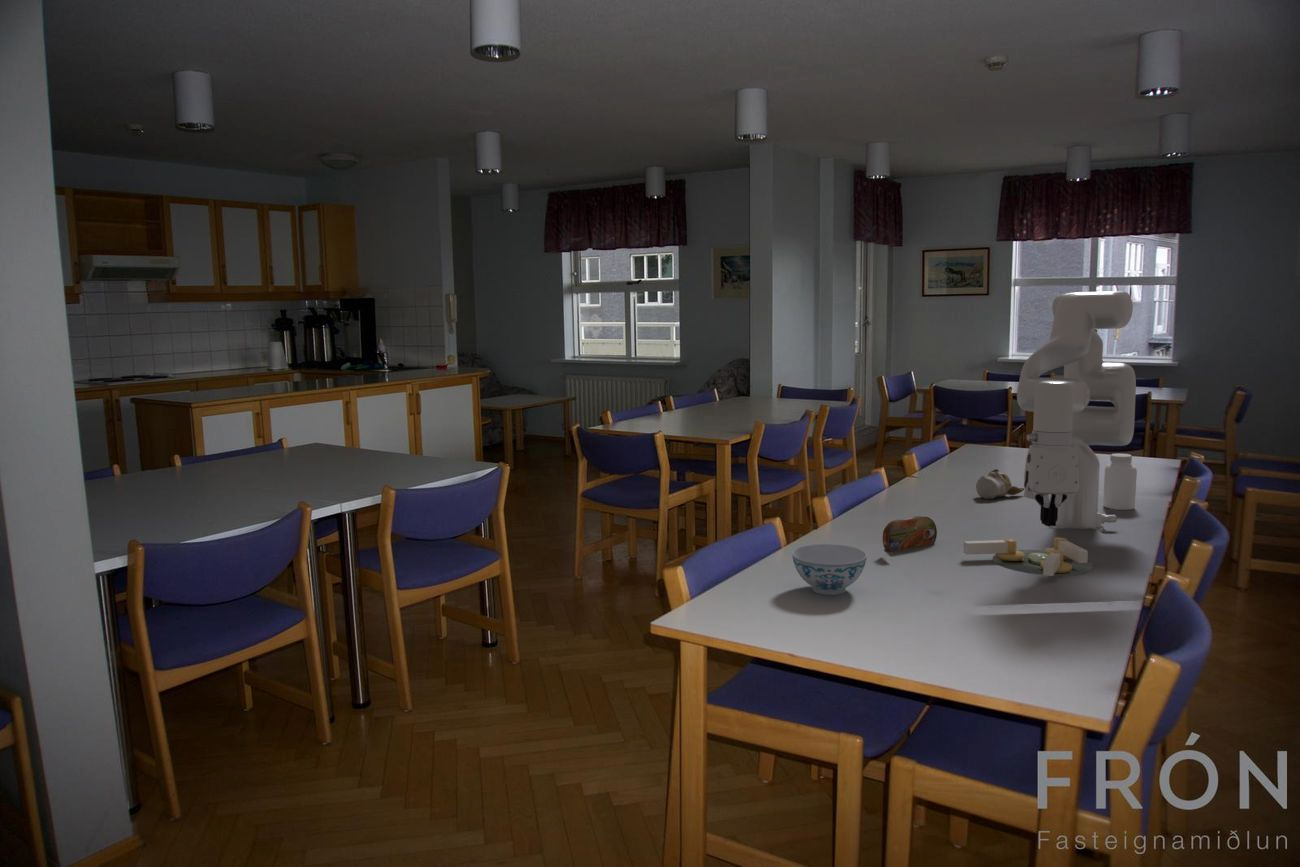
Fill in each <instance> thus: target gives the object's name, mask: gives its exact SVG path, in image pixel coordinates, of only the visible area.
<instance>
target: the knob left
mask: <svg viewBox="0 0 1300 867" xmlns="http://www.w3.org/2000/svg"><path fill="white" fill-rule="evenodd" d="M1017 544H1018V542H1017V539H1014V538H1013V539H1012V538H1006V539H995V540H994V539H993V540H970V541H969V540H966V541H963V553H964V554H965V555H987V554H989V555H993V554H994V555H995V557H996V558H998V559H1001V560H1007V561H1020V560H1024V555H1025V554H1024V553H1023V552H1021V551H1018V550H1019V549H1017Z"/></svg>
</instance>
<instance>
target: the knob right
mask: <svg viewBox="0 0 1300 867" xmlns="http://www.w3.org/2000/svg"><path fill="white" fill-rule="evenodd" d="M1050 550H1061V551H1063V559H1072V560H1074V561H1076V562H1078V563H1087V561H1088V557H1089V551H1088V550H1086V549H1084V548H1082V547H1081V546H1079V545H1077V544H1074V543H1072V542H1071V541H1069V540H1068V539H1067V538H1065V537H1059V536H1058V537H1053V547H1047V548H1045V550H1044V551H1045V554H1050Z"/></svg>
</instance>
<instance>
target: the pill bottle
mask: <svg viewBox="0 0 1300 867" xmlns="http://www.w3.org/2000/svg"><path fill="white" fill-rule="evenodd" d="M1109 457H1110V459H1109V460H1110V463H1107V464H1106V466H1105V468H1104V479H1103V482H1104V483H1103V496H1102V497H1103V500H1102V505H1103V507H1104V508H1107V509H1111V510H1116V511H1117V510H1118V511H1129V510H1134V509H1135V507H1136V506H1135V505H1136V495H1137V494H1136V492H1137V479H1138V478H1137V476H1138V475H1137V474H1138V470H1137V466H1135V465H1134V464H1132V463H1133V462H1132V460H1133V455H1132V454H1129V453H1118V452H1117V453H1112V454H1110V456H1109Z"/></svg>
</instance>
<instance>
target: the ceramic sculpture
mask: <svg viewBox="0 0 1300 867" xmlns="http://www.w3.org/2000/svg"><path fill="white" fill-rule="evenodd" d="M975 485H976V487H975V491H976V492H977V494H978V496H979V497H980V498H983V499H985V500H994V499H995V498H1000V497H1005V496H1007V495H1011V496H1015V495H1018V494H1021V493H1022V492H1023V491H1025V488H1023V487H1017V486H1015V485H1012V482H1011V478H1010V477H1009V476H1008V475H1007V474H1005V473H1003V472H1000V470H999V469H993V470H991V471H990V472H988V474H987V476H984V475H982V476H981V477H979V479H978V480H977V482H976V484H975Z"/></svg>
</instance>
